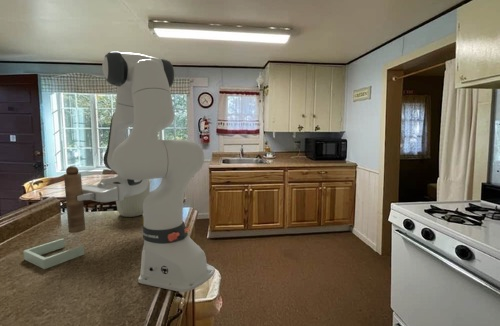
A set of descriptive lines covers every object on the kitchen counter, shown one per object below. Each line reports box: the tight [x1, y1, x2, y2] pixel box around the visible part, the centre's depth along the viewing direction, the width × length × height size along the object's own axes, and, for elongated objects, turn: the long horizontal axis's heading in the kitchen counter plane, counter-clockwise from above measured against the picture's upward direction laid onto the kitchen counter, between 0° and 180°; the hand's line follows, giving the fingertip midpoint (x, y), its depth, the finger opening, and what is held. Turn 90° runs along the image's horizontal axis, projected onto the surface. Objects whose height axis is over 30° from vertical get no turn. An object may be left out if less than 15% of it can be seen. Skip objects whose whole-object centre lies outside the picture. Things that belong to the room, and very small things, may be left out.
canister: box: [115, 179, 152, 218], centre depth 140 cm, size 18×18×21 cm
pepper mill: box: [63, 165, 86, 234], centre depth 98 cm, size 5×5×23 cm
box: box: [22, 238, 85, 270], centre depth 94 cm, size 13×12×3 cm
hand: (71, 197), depth 98 cm, fingers closed on pepper mill, 5 cm apart
